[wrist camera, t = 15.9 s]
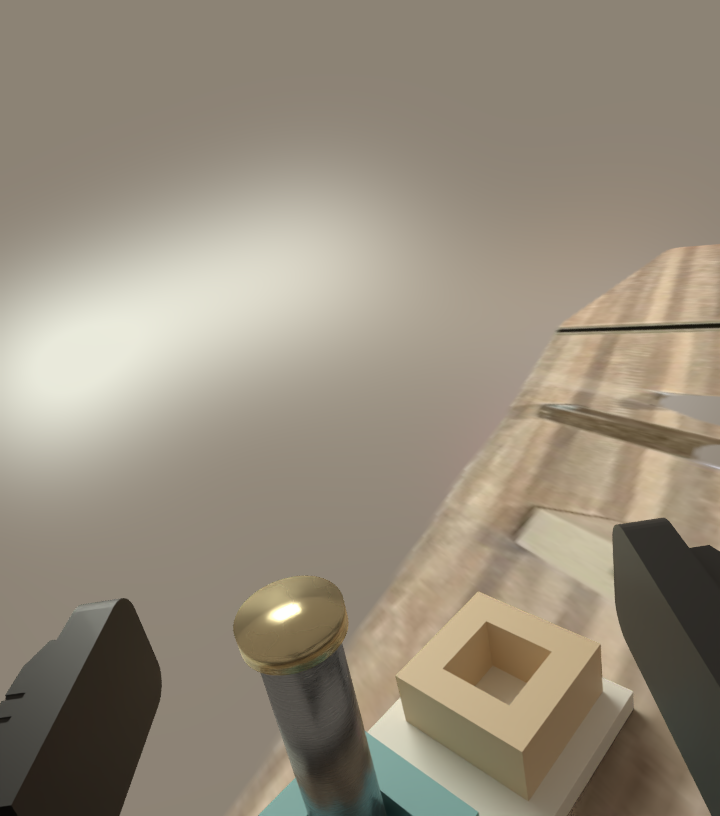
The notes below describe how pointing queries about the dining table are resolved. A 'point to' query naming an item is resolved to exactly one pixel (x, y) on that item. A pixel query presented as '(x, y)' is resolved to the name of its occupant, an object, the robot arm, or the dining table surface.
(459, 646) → the dock
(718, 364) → the dining table surface
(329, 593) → the pin
